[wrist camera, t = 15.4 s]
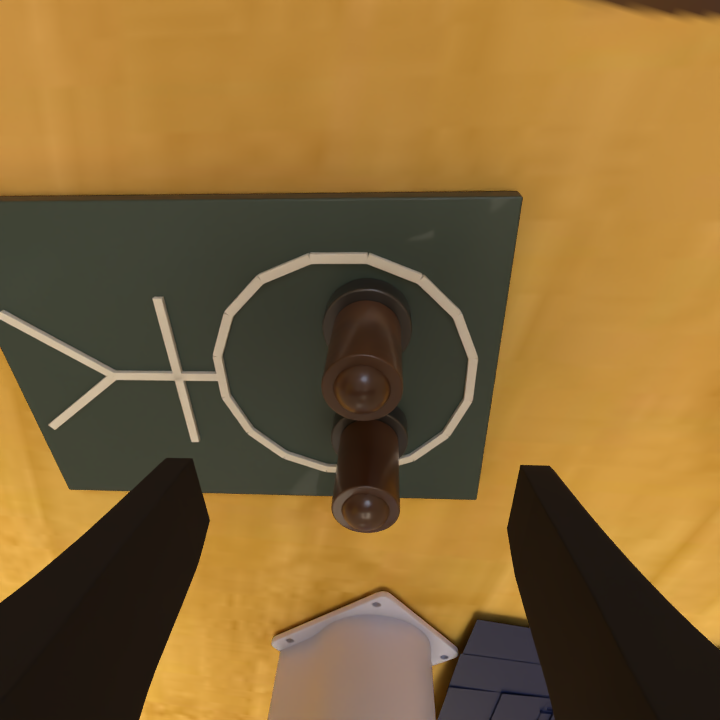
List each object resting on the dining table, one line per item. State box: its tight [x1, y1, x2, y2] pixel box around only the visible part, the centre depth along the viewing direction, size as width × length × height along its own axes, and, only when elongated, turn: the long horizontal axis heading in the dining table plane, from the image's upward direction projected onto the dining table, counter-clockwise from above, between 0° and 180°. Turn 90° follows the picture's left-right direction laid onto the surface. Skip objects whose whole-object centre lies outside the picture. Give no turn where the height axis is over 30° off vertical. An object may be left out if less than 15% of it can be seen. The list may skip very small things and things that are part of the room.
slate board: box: [0, 191, 523, 500], centre depth 20 cm, size 20×14×1 cm
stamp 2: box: [331, 406, 408, 533], centre depth 19 cm, size 3×3×5 cm
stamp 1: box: [321, 278, 412, 421], centre depth 16 cm, size 3×3×5 cm
